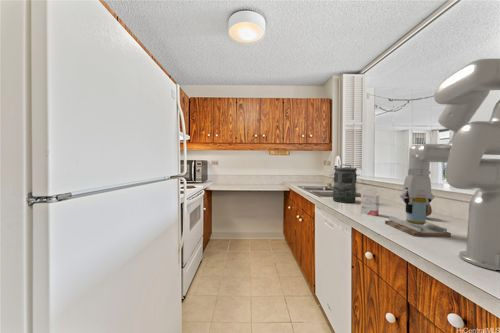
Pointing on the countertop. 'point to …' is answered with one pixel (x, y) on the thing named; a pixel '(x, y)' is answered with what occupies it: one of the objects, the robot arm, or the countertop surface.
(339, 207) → the countertop surface
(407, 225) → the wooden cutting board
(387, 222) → the walnut board
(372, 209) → the ink cartridge box
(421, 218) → the bottle
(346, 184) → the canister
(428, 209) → the natural sponge
